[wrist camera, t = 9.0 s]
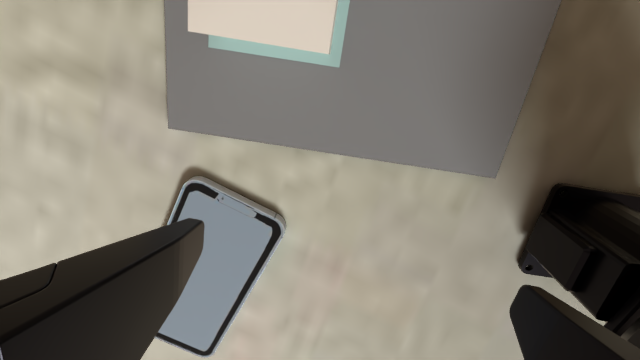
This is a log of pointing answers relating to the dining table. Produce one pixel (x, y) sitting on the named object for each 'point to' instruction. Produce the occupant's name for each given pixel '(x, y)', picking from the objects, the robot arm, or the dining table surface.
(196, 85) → the mat
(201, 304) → the smartphone
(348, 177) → the dining table surface
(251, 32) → the card box
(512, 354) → the dining table surface
